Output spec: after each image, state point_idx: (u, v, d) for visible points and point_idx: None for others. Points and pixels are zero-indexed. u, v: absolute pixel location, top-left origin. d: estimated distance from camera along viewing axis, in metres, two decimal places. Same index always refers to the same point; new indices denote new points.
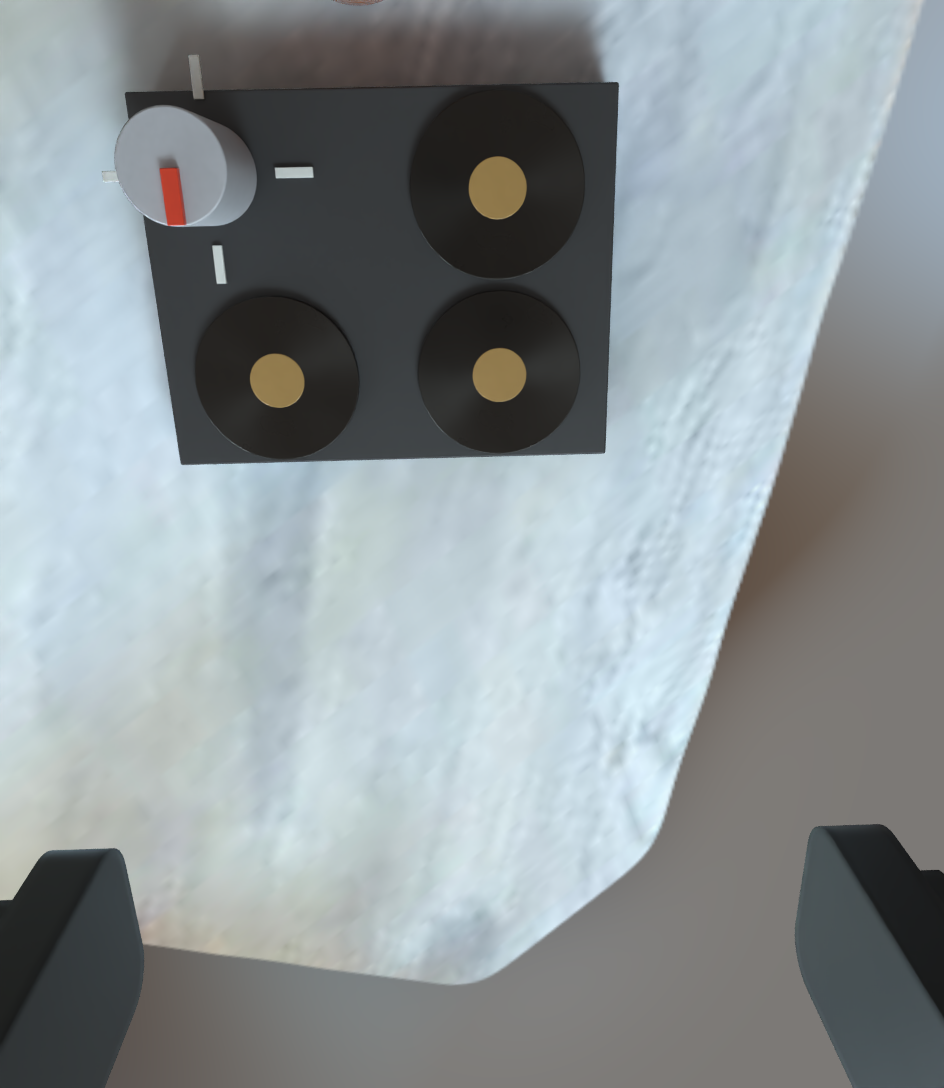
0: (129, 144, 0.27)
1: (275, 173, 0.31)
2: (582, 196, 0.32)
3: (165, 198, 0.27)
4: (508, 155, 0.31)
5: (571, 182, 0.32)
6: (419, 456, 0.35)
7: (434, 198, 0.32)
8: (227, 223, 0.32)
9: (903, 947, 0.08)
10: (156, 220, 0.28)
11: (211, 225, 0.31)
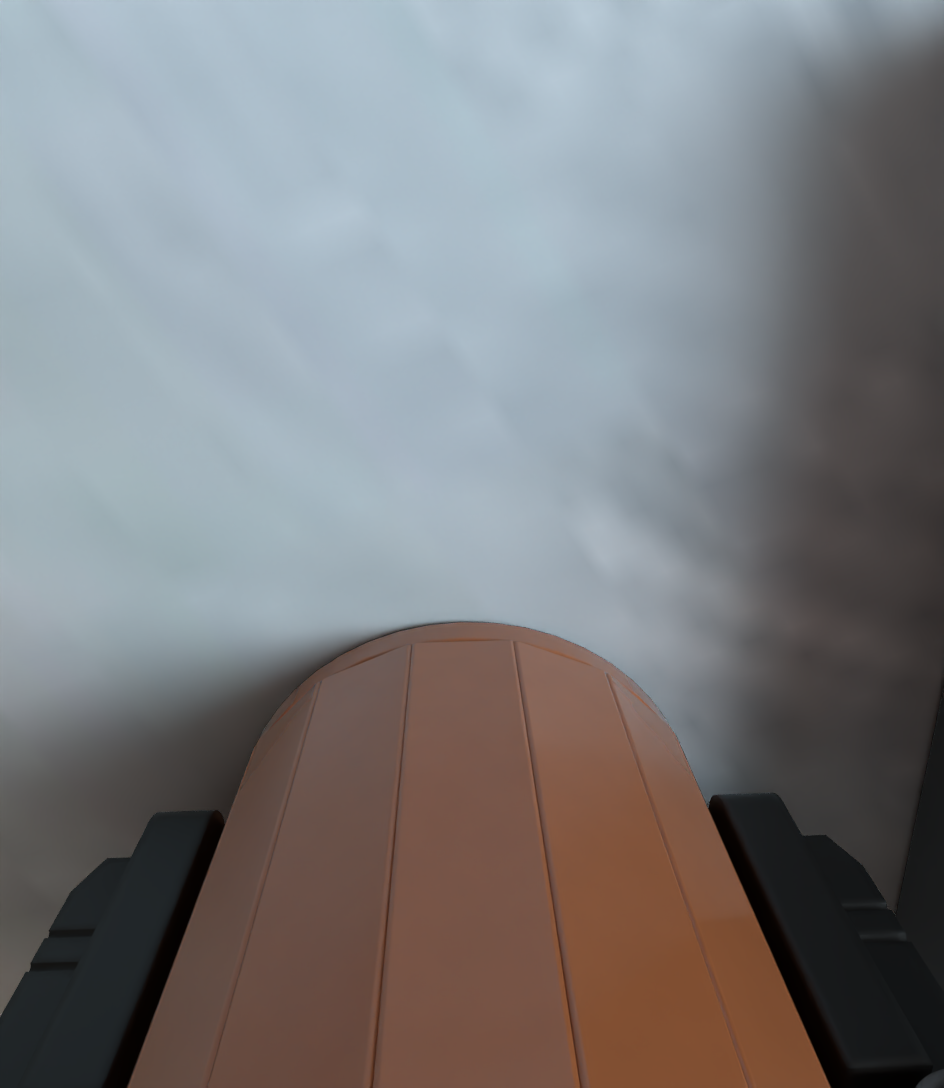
0: None
1: None
2: None
3: None
4: None
5: None
6: None
7: None
8: None
9: (774, 901, 0.08)
10: None
11: None
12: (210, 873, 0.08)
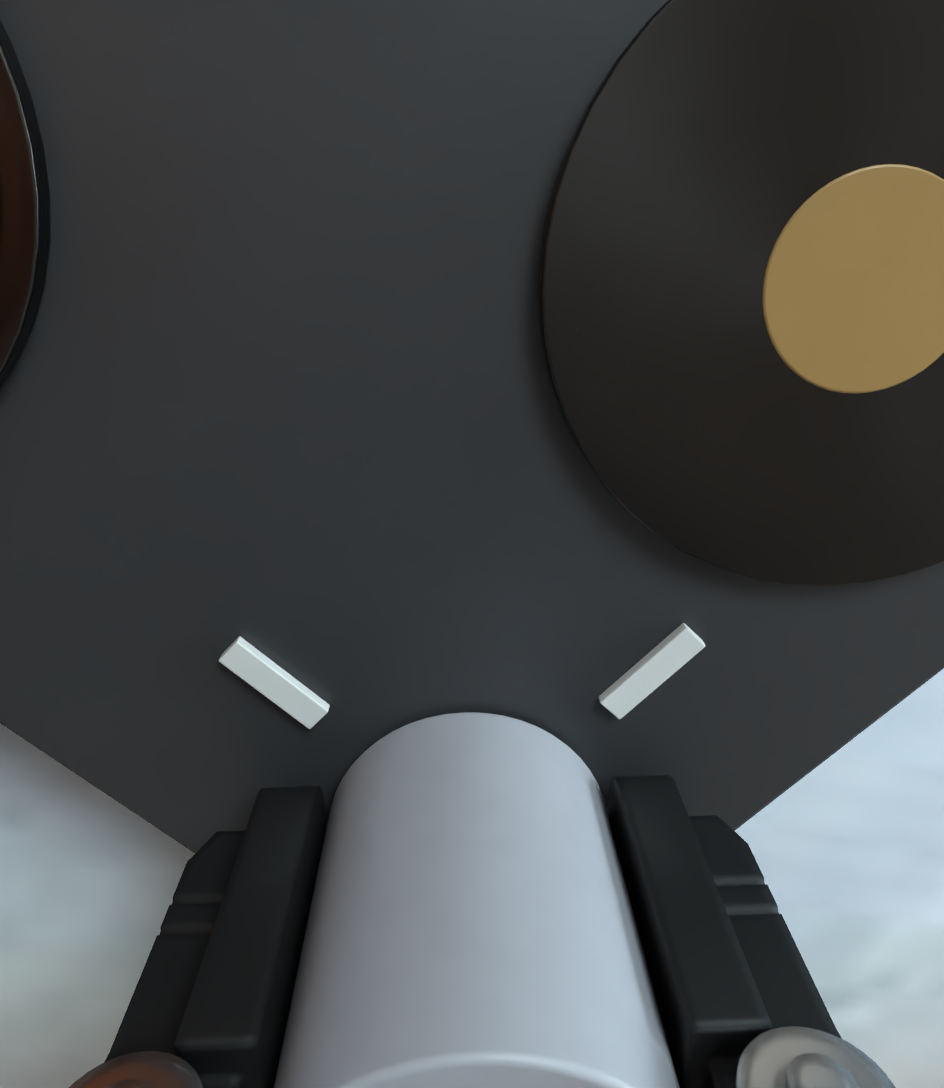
0: None
1: (323, 713, 0.10)
2: None
3: None
4: None
5: None
6: None
7: None
8: (535, 726, 0.10)
9: (650, 876, 0.09)
10: None
11: (567, 809, 0.09)
12: None
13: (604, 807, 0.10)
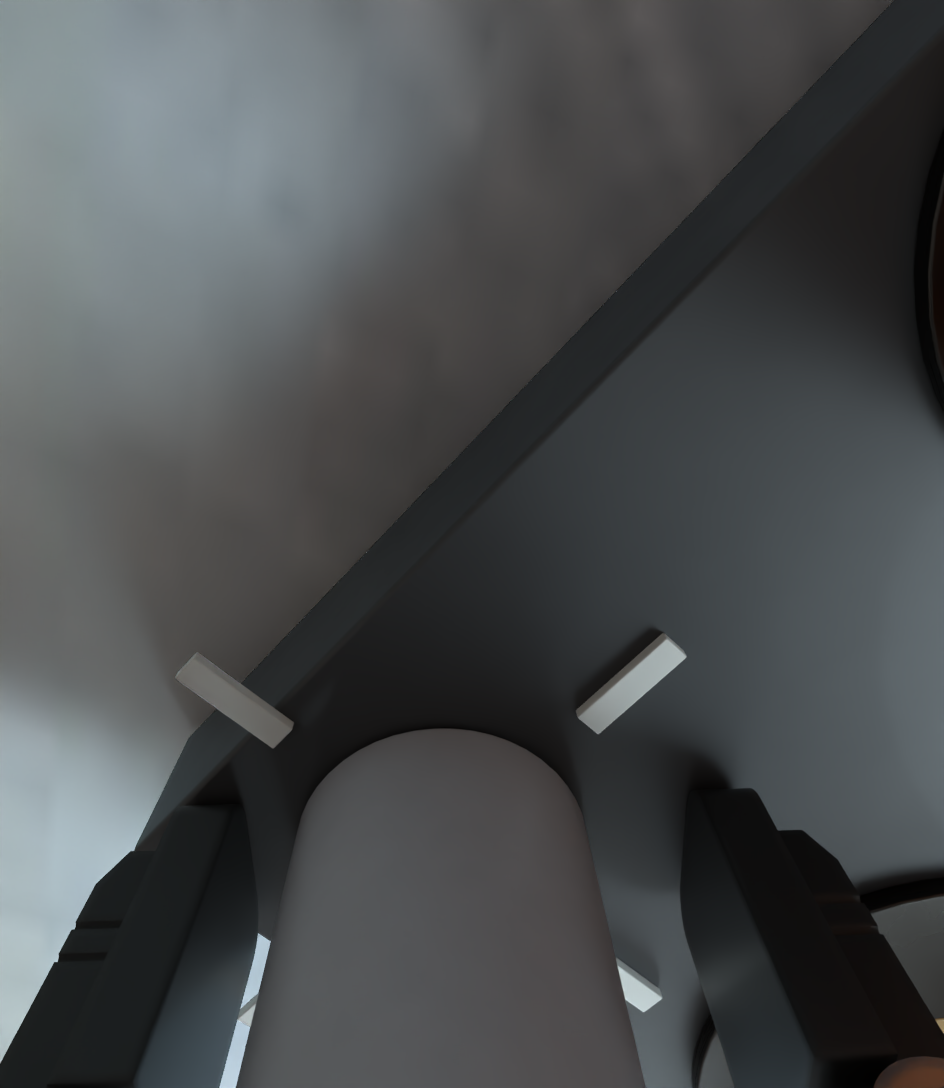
0: None
1: (585, 721, 0.10)
2: None
3: None
4: None
5: None
6: None
7: None
8: (507, 741, 0.10)
9: (747, 894, 0.08)
10: None
11: (538, 831, 0.09)
12: None
13: (582, 824, 0.10)
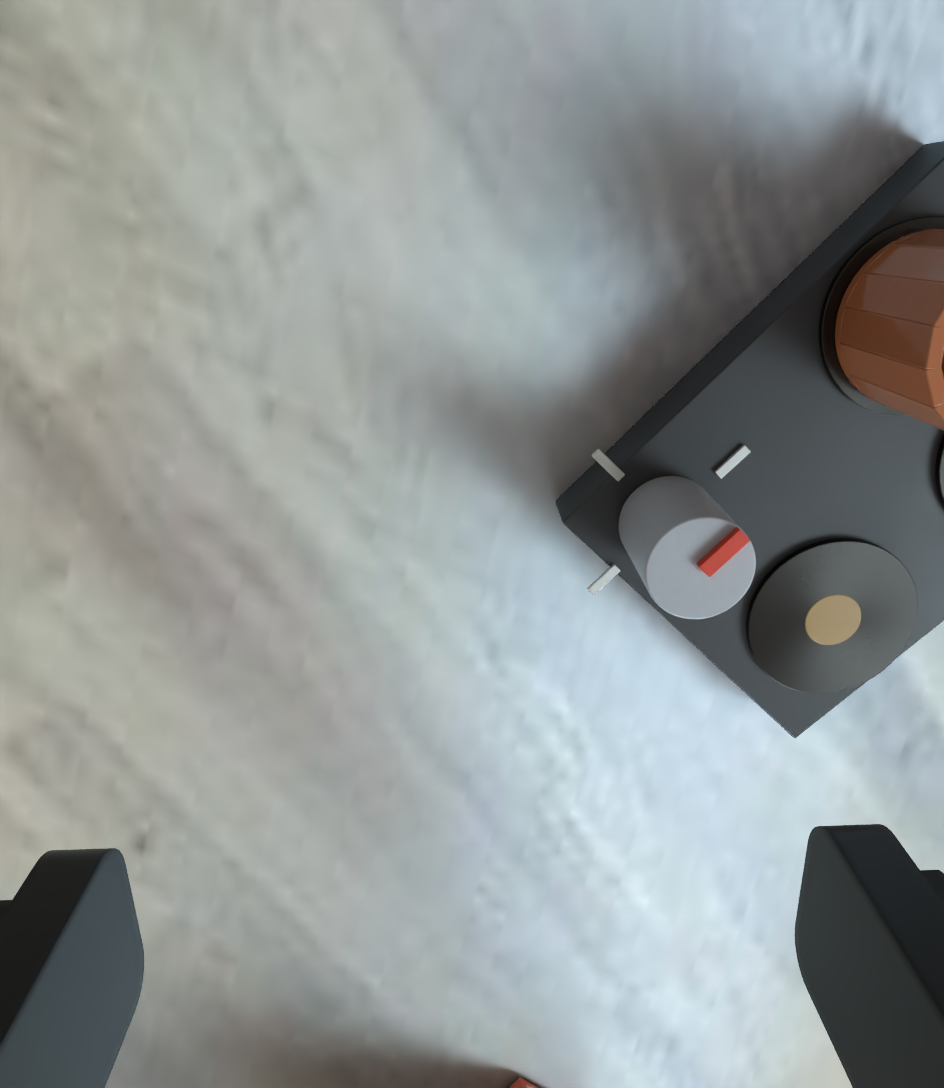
0: (709, 606, 0.27)
1: (716, 475, 0.31)
2: None
3: (730, 557, 0.26)
4: None
5: None
6: None
7: None
8: None
9: (903, 947, 0.08)
10: (752, 549, 0.27)
11: (709, 495, 0.29)
12: None
13: None
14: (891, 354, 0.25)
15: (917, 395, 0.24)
